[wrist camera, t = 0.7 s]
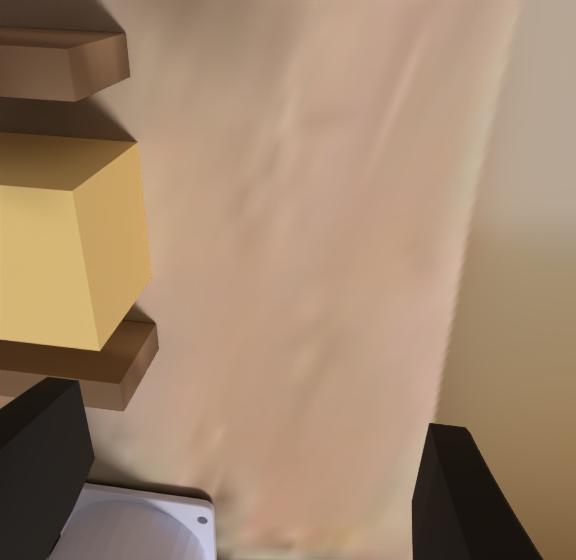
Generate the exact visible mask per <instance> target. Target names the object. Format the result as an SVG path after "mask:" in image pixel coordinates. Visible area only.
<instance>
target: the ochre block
mask: <svg viewBox="0 0 576 560" xmlns="http://www.w3.org/2000/svg"><path fill="white" fill-rule="evenodd" d="M151 279H152V274H151V265H150V255H149V246H148V236H147V226H146V217H145V207H144V198H143V188H142V179H141V169H140V159H139V150H138V142H127V141H114V140H100V139H87V138H74V137H60V136H47V135H34V134H20V133H7V132H0V339H1V340H9V341H18V342H26V343H35V344H43V345H52V346H61V347H69V348H78V349H86V350H95V351H100V350H101V349H102V347H103V346H104V345H105V343H106V342H107V340H108V339H109V337H110V336H111V335H112V333H113V332H114V330H115V329H116V328H117V326H118V325H119V323H120V322H121V321H122V319H123V318H124V316H125V315H126V314H127V312H128V311H129V309H130V308H131V307H132V305H133V304H134V302H135V301H136V300H137V298H138V297H139V295H140V294H141V293H142V291H143V290H144V288H145V287H146V286H147V284H148V283H149V281H150V280H151Z"/></svg>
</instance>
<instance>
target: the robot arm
mask: <svg viewBox="0 0 576 560" xmlns="http://www.w3.org/2000/svg"><path fill="white" fill-rule="evenodd" d="M94 459H95V458H94V453H93V448H92V443H91V438H90V433H89V428H88V423H87V418H86V413H85V409H84V404H83V399H82V394H81V389H80V384H79V380H72V379H63V378H55V377H46V378H45V379H43V380H42V381H40V382H39V383H37V384H36V385H34V386H33V387H31V388H30V389H28V390H27V391H25V392H24V393H22V394H21V395H19V396H18V397H16V398H15V399H14V400H12V401H11V402H9V403H8V404H6V405H5V406H4V407H2V408H1V409H0V560H46V558H47V556H48V554H49V553H50V551H51V549H52V547H53V546H54V544H55V542H56V540H57V538H58V537H59V535H60V534H61V537H60V539H59V541H58V542H57V544H56V546H55V548H54V550H53V552H52V553H51V555H50V557H49V559H48V560H217V553H216V533H215V514H214V506H213V505H212V504H211V503H210V502H209V501H207V500H203V499H196V498H189V497H181V496H174V495H167V494H160V493H153V492H146V491H139V490H132V489H125V488H118V487H111V486H104V485H97V484H89V483H85V481H86V479H87V476H88V474H89V471H90V469H91V466H92V464H93V461H94ZM412 544H413V560H543V558H542V557H541V555H540V554H539V552H538V551H537V549H536V547H535V546H534V544H533V543H532V541H531V539H530V538H529V536H528V535H527V533H526V531H525V530H524V528H523V527H522V525H521V523H520V522H519V520H518V518H517V517H516V515H515V514H514V512H513V510H512V509H511V507H510V505H509V503H508V502H507V500H506V498H505V497H504V495H503V493H502V491H501V490H500V488H499V486H498V484H497V483H496V481H495V479H494V477H493V475H492V474H491V472H490V470H489V468H488V466H487V465H486V463H485V461H484V459H483V457H482V455H481V453H480V451H479V450H478V448H477V445H476V443H475V442H474V440H473V438H472V436H471V434H470V432H469V431H468V430H467V429H466V428H465V427H458V426H450V425H442V424H434V423H429V427H428V431H427V436H426V440H425V445H424V449H423V454H422V458H421V463H420V467H419V472H418V476H417V481H416V485H415V490H414V494H413V499H412Z"/></svg>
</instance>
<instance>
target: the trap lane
mask: <svg viewBox="0 0 576 560" xmlns="http://www.w3.org/2000/svg"><path fill="white" fill-rule="evenodd" d="M129 77H130V70H129V60H128V51H127V41H126V33H114V32H95V31H77V30H59V29H40V28H22V27H4V26H0V97H13V98H28V99H43V100H57V101H72V102H76V101H78V100H80V99H83V98H85V97H87V96H89V95H91V94H94V93H96V92H98V91H100V90H102V89H105V88H107V87H109V86H111V85H113V84H116V83H118V82H120V81H122V80H124V79H126V78H129ZM158 350H159V347H158V337H157V328H156V324H151V323H142V322H133V321H123V320H122V321H121V322H120V323H119V325H118V326H117V328H116V329H115V330H114V332H113V333H112V335H111V336H110V337H109V339H108V340H107V342H106V343H105V345H104V346H103V347H102V349H101V350H100V351H95V350H86V349H78V348H69V347H61V346H52V345H43V344H35V343H26V342H18V341H9V340H1V339H0V409H1V408H2V407H4V406H5V405H6V404H8V403H9V402H11V401H12V400H14V399H15V398H16V397H18V396H19V395H21V394H22V393H24V392H25V391H27V390H28V389H30V388H31V387H33V386H34V385H36V384H37V383H39V382H40V381H42V380H43V379H45V378H46V377H55V378H63V379H72V380H79V384H80V389H81V394H82V399H83V404H84V406H85V407H92V408H100V409H108V410H116V411H124V410H125V408H126V407H127V405H128V403H129V401H130V399H131V398H132V396H133V394H134V392H135V391H136V389H137V387H138V385H139V383H140V382H141V380H142V378H143V376H144V375H145V373H146V371H147V369H148V367H149V366H150V364H151V362H152V360H153V359H154V357H155V355H156V353H157V351H158Z"/></svg>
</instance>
